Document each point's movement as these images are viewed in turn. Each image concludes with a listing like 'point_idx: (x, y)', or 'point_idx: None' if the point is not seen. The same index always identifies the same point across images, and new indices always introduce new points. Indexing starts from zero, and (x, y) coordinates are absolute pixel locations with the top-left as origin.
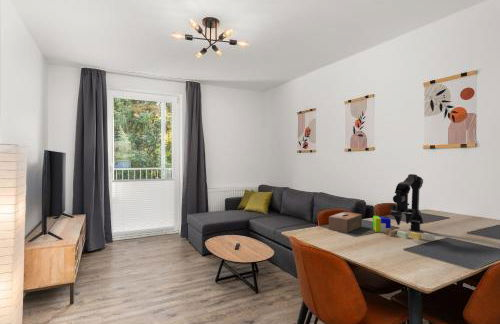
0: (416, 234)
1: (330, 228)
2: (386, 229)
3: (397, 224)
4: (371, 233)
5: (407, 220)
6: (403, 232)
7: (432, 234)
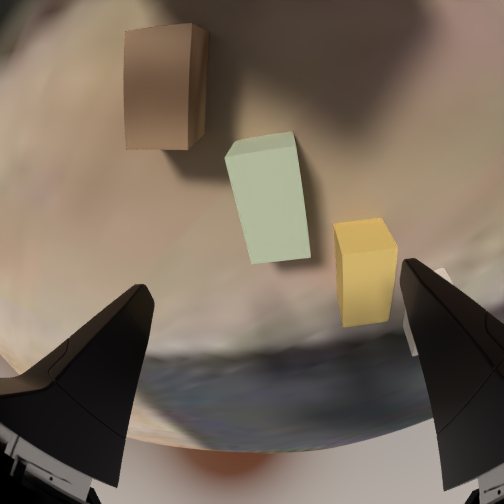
0: (342, 311)
1: None
2: (143, 33)
3: (130, 291)
4: (48, 19)
5: (423, 325)
6: (268, 224)
7: None
